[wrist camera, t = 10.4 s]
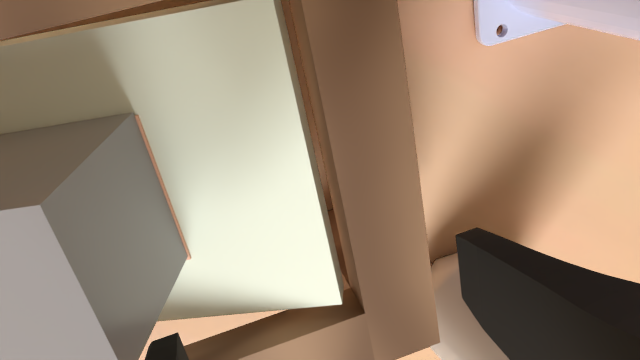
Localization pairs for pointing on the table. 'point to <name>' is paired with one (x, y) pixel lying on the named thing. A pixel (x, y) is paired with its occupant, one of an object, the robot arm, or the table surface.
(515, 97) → the table surface
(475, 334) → the salt shaker
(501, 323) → the robot arm
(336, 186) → the trapdoor frame
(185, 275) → the trapdoor
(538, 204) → the table surface
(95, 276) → the pale grey cube
